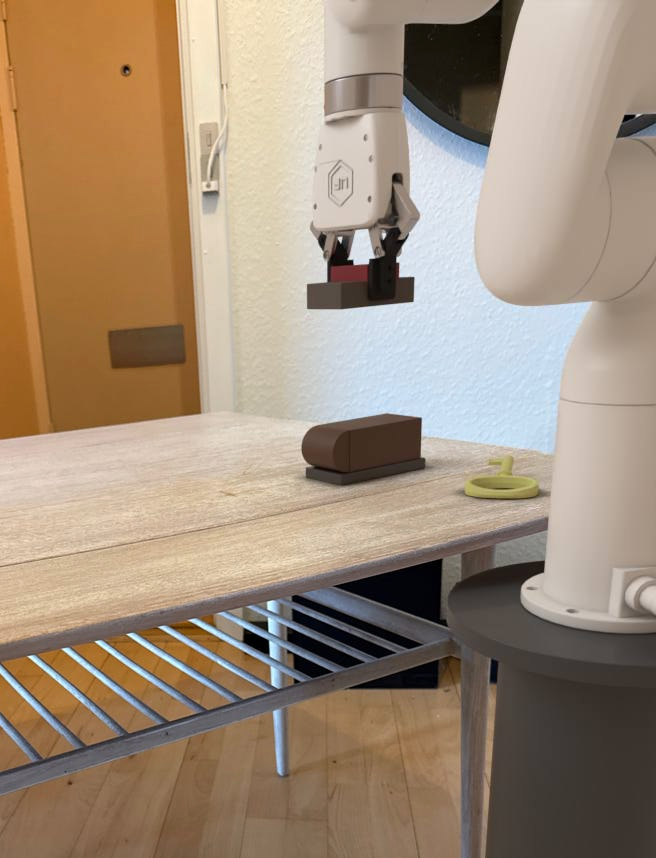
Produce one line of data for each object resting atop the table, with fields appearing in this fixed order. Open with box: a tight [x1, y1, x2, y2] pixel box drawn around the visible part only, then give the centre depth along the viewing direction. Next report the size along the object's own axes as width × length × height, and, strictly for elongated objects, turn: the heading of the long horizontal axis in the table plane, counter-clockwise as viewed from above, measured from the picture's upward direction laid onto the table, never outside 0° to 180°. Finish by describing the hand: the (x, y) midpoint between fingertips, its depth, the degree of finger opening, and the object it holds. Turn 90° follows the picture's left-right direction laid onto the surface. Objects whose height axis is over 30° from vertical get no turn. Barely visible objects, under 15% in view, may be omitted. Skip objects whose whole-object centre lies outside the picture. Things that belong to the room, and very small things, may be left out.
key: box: [464, 454, 540, 499], centre depth 99 cm, size 7×12×2 cm, turn 176°
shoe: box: [300, 412, 426, 486], centre depth 109 cm, size 14×7×6 cm, turn 120°
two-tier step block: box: [306, 261, 415, 310], centre depth 96 cm, size 10×6×4 cm, turn 121°
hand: (360, 298), depth 96 cm, fingers closed on two-tier step block, 5 cm apart
